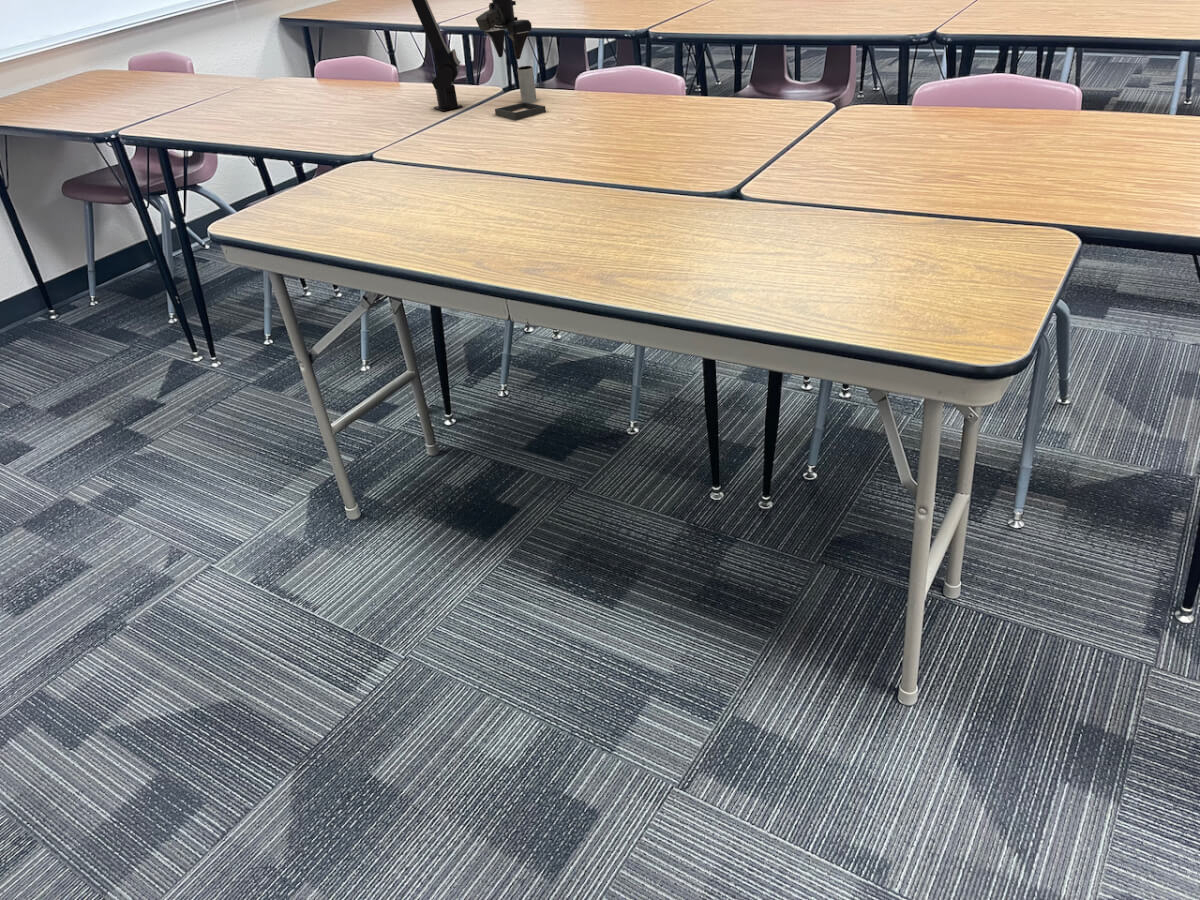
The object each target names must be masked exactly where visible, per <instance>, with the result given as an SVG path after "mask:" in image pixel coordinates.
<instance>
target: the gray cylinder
mask: <svg viewBox="0 0 1200 900" xmlns="http://www.w3.org/2000/svg"><path fill="white" fill-rule="evenodd" d="M516 69H517V76H518V86H519V93H520V100H521V103H523V102H526V103H531V104H534V103H536V102H538V99H537V91H536V83H535V76H534V67H533V66H532V65H523V66H519V67H517V68H516Z"/></svg>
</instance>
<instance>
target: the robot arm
mask: <svg viewBox="0 0 1200 900" xmlns="http://www.w3.org/2000/svg"><path fill="white" fill-rule="evenodd" d="M411 3H412V4H413V7H414V10H415V12H416V15H417V17H418V19H419V21H420V23H421V25H422V28H423V31H424V32H425V36H426V37H427V40H428V42H429V45H430V47H431V49H432V53H433V57H434V63H435V66H436V71H437V74H436V76H435V77H434V78H433V80H432V81H431V84H432V86H433V88H434V90H435V96H436V100H437V102H436V103H437V105H436V106H433V109H434V110H439V111H443V112H445V111H450V110H454V109H459V108H463V104H458V98H457V92H456V85H455V80H456V78H457V77H458V75H459V74H460V72H461V67H460V64H461V61H460V60H459V58H458V56H457V52H456V49H455V48H453V49H450V48H449V47H448V45H447V44H446V42H445V40H444V37H443V35H442V33H441V30H440V27H439V24H438V23H437V20H436V18H435V16H434V13H433V11H432V9H431V6H430V4H429V1H428V0H411ZM516 5H517V2H516V0H491V2H489V4H488V10H486V11H484V12H483V13H481V14H480V15H479V16H477V17H476V18H475V21H476V24H477V26H478V28H479V31H483V34H484V35H486V36H487V37H489V38H490V40H491V42H492V44H493V46H494V49H495V51H496V53H497V56H498V58H503V56H504V49H505V48H504V47H505V36H506V31H507V32H508V33H507V37H509V38H510V40H511V41H512V42H511V43H512V47H513V53H514V57H515V60H520V59H521V57H522V53H523V50H524V48H525V47H524V46H525V44H526V42H527V39H528V38H527V37H528V36H529V35H530V32H531V31H533V25H532V22H531V21H530V20H529V19H518V16H515V11H514V6H516Z"/></svg>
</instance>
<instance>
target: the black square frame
mask: <svg viewBox="0 0 1200 900" xmlns="http://www.w3.org/2000/svg"><path fill="white" fill-rule="evenodd" d="M522 109H524V110H522ZM546 110H547V109H546V105H542V104H536V103H526V102H523V103H522V102H519V103H515V104H511V105H507V106H501V107H496V108H494V114H495V116H497V117H500V118H504V119H507V120H510V121H520V120H523V119H527V118H530V117H534V116H537V115H540V114H545V113H546ZM515 111H516V112H515Z"/></svg>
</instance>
